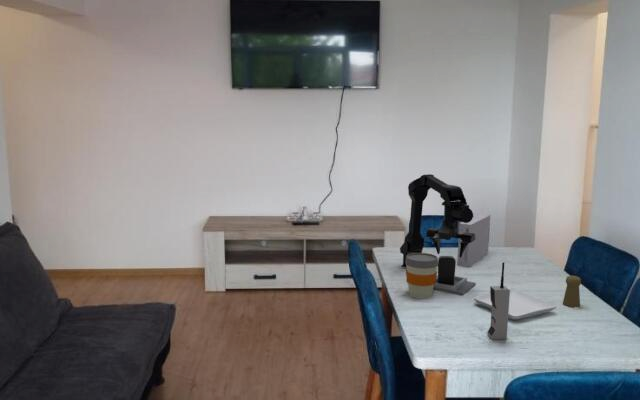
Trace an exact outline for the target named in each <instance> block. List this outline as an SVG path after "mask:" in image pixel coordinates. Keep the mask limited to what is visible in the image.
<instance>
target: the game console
mask: <svg viewBox="0 0 640 400" xmlns="http://www.w3.org/2000/svg"><path fill="white" fill-rule="evenodd" d="M490 225H491V214H487V213H486V214H485V213H478V214H475V215H473V218H472V220H471V221H470V222H469V223H464V222H461V221H460V222H459V223H458V230H459V232H458V234H463V233H465V232H468V233H474V234H475V240H474V241H473V242H471V243H469V244H468V245H467V246H466V248H465V250H464V253H463V255H462V257H461V258H460V247H461V244H460V242H462V240H461V239H459V238H458V242H457V243H458V244H457V245H458V247H457V262H456V263H457V264H456V265H457V266H459V267H465V268H470V267H471V266H472V265H473V264H475V263H477V262H479V261H480V260H482V259H483V258H485V257H486V256H487V255H488V252H489V242H490V241H489V240H490V229H491V228H490V227H491V226H490Z"/></svg>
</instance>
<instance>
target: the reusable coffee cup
mask: <svg viewBox="0 0 640 400" xmlns="http://www.w3.org/2000/svg"><path fill="white" fill-rule="evenodd" d="M438 258H439V256H437V255H435V254H432V253H426V252H422V253H411V254H408V255H407V256H406V262H405V264H406V267H407V268H406V267H405V268H406V269H405V274H406V277H405V278H406V283H407V285H408V287H407V288H408V294H409V296H411V297H413V296H414V298H418V297H420V298H419V299H425V298H426V299H428V298H431V297H432V296H433V293H434V292H433V291H434V290H433V287H434V284H435V282H436V276H438Z"/></svg>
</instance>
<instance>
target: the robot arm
mask: <svg viewBox="0 0 640 400" xmlns="http://www.w3.org/2000/svg"><path fill="white" fill-rule="evenodd" d="M431 189H432V190H433V191H435V192H437V193H439V196H440V198H441V199H442V200H443V201H442V202H441V206H444V208H443V209H444V210H443V220H442V224H441V226H440V228H437V227H436V228H435V227H430V228H429V229H427V230H426V231H425V232H426V233H425V236H426V237H427V238H429V240H431V241H432V242H433V244H434V246H435V250H436V253H437V255H440V253H441V240H445V241H450V240H451V239H452V238H453V239H458V240H459V239H461V240H462V242H460V244H461V247H460V258H461V257H462V255H463V253H464V250H465V248H466V246H467V245H468V244H469V243H471V242H473V241H474V240H475V234H474V233H468V232H465V233H463V234H459V223H461V222H464V223H469V222H470V221H471V220H472V218H473V216H474V213H473V210H472V209H471V208H470V205H468V202H467V199H466V197H465V195H464V191H463V190H462V187H460V186H458V185H453V184H448V183H445V182H444V181H442V179H439V178H437V177H436V176H435V175H434V174H431V173H430V174H429V173H428V174H422V175H420V177H418V178H416V179H415V180H412V181H411V182H410V183H408V186H407V191H408V196H409V198H410V200H411V205H410V206H411V207H410V217H409V228H408V229H409V230H408V232H407V234H406V235H405V237H404V242H403V244H402V245H401V246H400V247H399V251H400V253H401V254H402V255H403V256H402V265H401V267H402V268H406V269H407V267H406V264H405V262H406V256H407V255H408V254H411V253H423V250H424V249H423V248H424V247H425V237H423V236H422V233H421V228H422V216H423V204H424V201H425V200H426V198H427V196H428V193H429V190H431Z"/></svg>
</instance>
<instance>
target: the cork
mask: <svg viewBox="0 0 640 400" xmlns="http://www.w3.org/2000/svg"><path fill="white" fill-rule="evenodd" d="M565 284H566V289H565V292H564V296H563V299H562V300H563V301H562V305H563V306H565V307H566V306H567V308H571V307H572V308H571V309H573V308H574V307H578V308H580V307H581V297H580V286H581V284H582V279H581V277H580V276H577V275H568V276H566V278H565ZM574 309H575V308H574Z"/></svg>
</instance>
